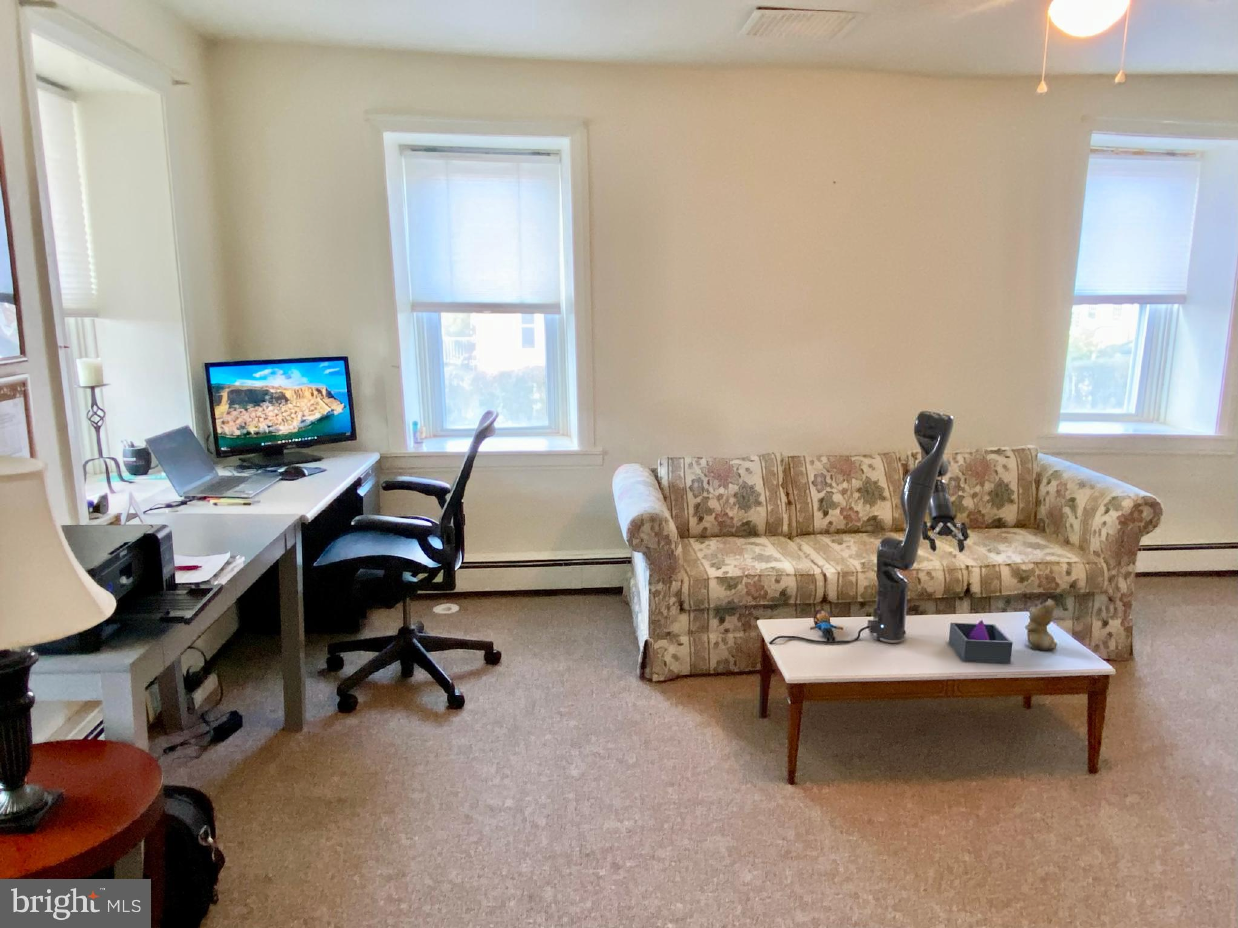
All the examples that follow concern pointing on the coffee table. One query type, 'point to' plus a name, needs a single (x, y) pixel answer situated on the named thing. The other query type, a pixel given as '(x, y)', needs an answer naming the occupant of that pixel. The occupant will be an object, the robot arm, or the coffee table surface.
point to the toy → (824, 624)
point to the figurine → (1041, 627)
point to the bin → (980, 644)
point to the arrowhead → (979, 632)
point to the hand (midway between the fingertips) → (948, 550)
